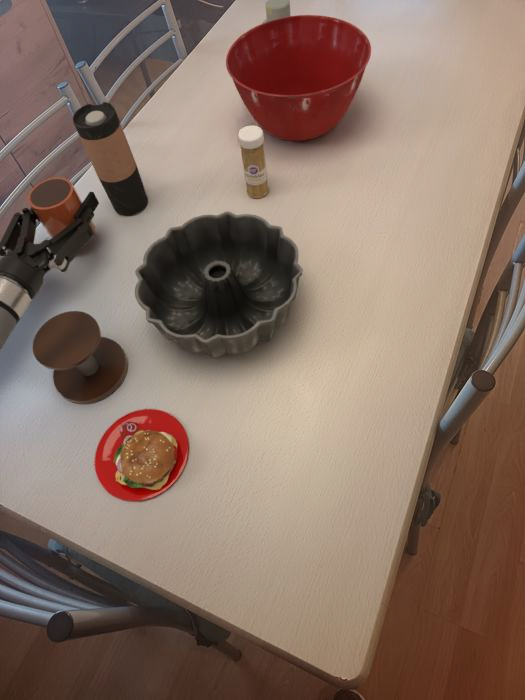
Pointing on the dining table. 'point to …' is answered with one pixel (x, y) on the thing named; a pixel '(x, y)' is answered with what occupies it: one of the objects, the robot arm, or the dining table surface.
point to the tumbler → (55, 204)
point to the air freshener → (277, 9)
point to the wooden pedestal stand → (80, 357)
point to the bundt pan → (219, 283)
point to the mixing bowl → (299, 73)
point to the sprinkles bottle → (254, 160)
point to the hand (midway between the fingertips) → (73, 194)
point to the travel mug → (111, 157)
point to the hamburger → (141, 454)
